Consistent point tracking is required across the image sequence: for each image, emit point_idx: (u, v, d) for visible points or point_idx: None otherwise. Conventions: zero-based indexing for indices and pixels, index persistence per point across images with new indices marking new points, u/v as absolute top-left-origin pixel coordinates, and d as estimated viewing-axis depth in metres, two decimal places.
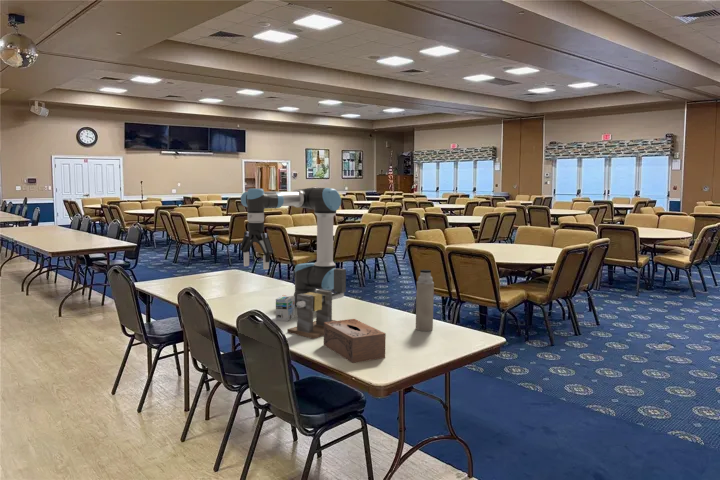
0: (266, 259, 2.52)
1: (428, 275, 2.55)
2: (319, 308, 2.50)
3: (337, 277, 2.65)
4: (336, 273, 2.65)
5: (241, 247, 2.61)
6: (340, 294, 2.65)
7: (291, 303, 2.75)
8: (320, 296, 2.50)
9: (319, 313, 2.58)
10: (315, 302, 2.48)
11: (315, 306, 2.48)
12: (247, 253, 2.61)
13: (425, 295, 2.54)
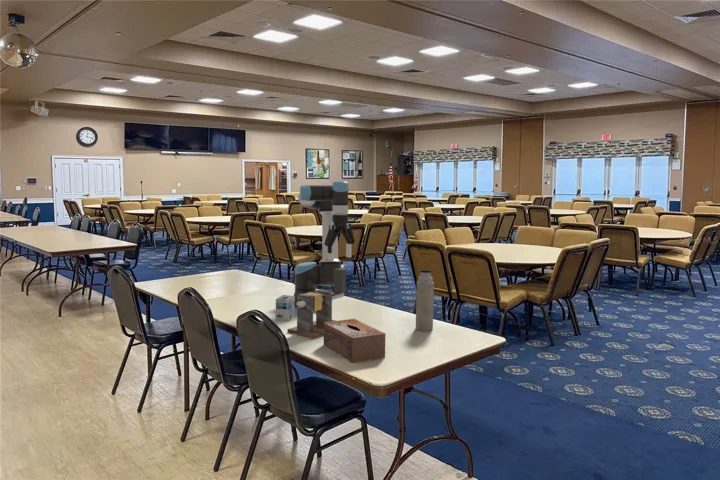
0: None
1: (428, 275, 2.55)
2: (319, 308, 2.50)
3: (337, 277, 2.65)
4: (336, 273, 2.65)
5: None
6: (340, 294, 2.65)
7: (291, 303, 2.75)
8: (320, 296, 2.50)
9: (319, 313, 2.58)
10: (315, 302, 2.48)
11: (315, 306, 2.48)
12: (348, 245, 2.69)
13: (425, 295, 2.54)
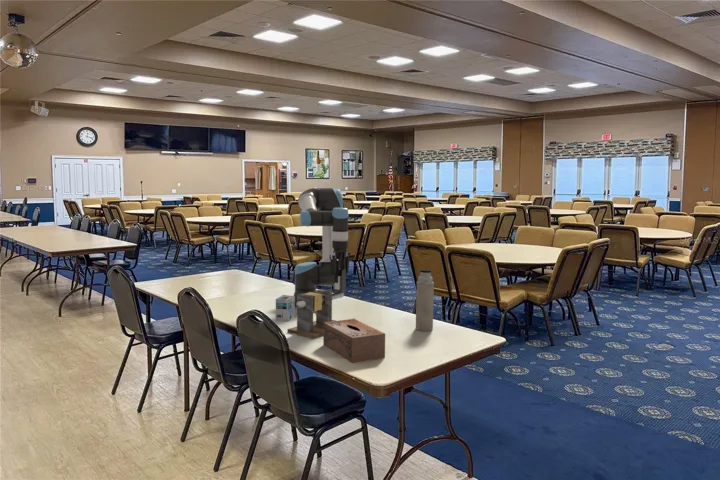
0: None
1: (428, 275, 2.55)
2: (319, 308, 2.50)
3: None
4: None
5: None
6: (340, 294, 2.65)
7: (291, 303, 2.75)
8: (320, 296, 2.50)
9: (319, 313, 2.58)
10: (315, 302, 2.48)
11: (315, 306, 2.48)
12: None
13: (425, 295, 2.54)
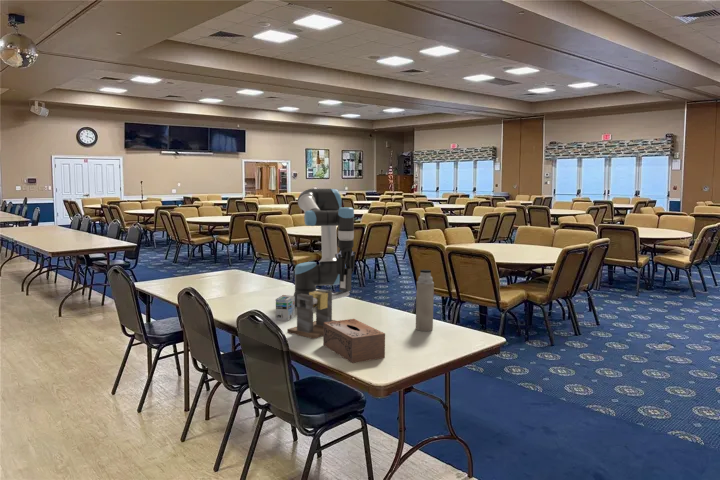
0: None
1: (428, 275, 2.55)
2: (324, 306, 2.53)
3: None
4: None
5: None
6: (346, 293, 2.68)
7: (291, 303, 2.75)
8: (326, 295, 2.53)
9: (319, 313, 2.58)
10: (321, 300, 2.51)
11: (321, 304, 2.51)
12: None
13: (425, 295, 2.54)
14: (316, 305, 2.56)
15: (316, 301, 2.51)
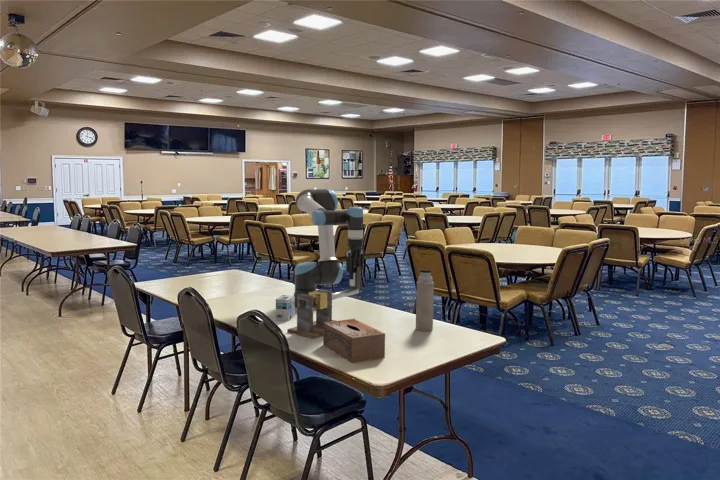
0: None
1: (428, 275, 2.55)
2: (324, 306, 2.53)
3: None
4: None
5: None
6: (355, 290, 2.74)
7: (291, 303, 2.75)
8: (325, 294, 2.53)
9: (319, 313, 2.58)
10: (321, 300, 2.51)
11: (321, 304, 2.51)
12: None
13: (425, 295, 2.54)
14: (316, 305, 2.56)
15: None
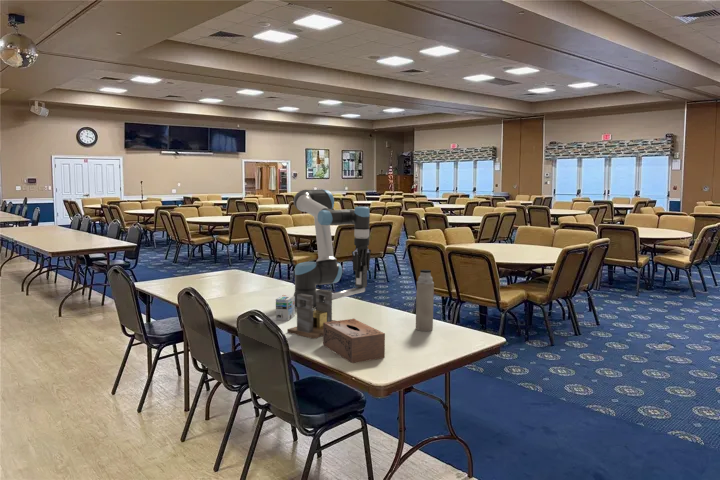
0: None
1: (428, 275, 2.55)
2: None
3: None
4: None
5: None
6: (361, 289, 2.79)
7: (291, 303, 2.75)
8: (325, 314, 2.54)
9: None
10: (320, 320, 2.51)
11: (320, 324, 2.51)
12: None
13: (425, 295, 2.54)
14: (315, 324, 2.57)
15: (334, 296, 2.61)
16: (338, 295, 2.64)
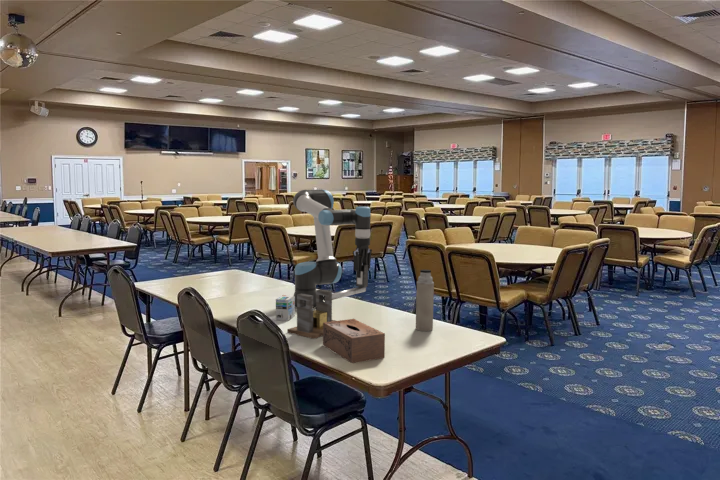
0: None
1: (428, 275, 2.55)
2: None
3: None
4: None
5: None
6: (362, 288, 2.79)
7: (291, 303, 2.75)
8: (325, 314, 2.54)
9: None
10: (320, 320, 2.51)
11: (320, 324, 2.51)
12: None
13: (425, 295, 2.54)
14: (315, 324, 2.57)
15: (335, 296, 2.62)
16: (339, 295, 2.64)
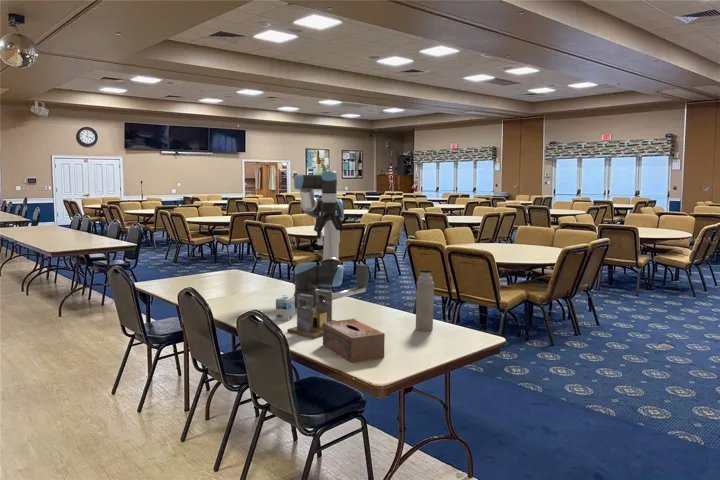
0: None
1: (428, 275, 2.55)
2: None
3: (359, 273, 2.79)
4: (359, 269, 2.79)
5: None
6: (362, 288, 2.79)
7: (291, 303, 2.75)
8: (325, 314, 2.54)
9: None
10: (320, 320, 2.51)
11: (320, 324, 2.51)
12: (337, 231, 2.85)
13: (425, 295, 2.54)
14: (315, 324, 2.57)
15: (335, 296, 2.62)
16: (339, 295, 2.64)
